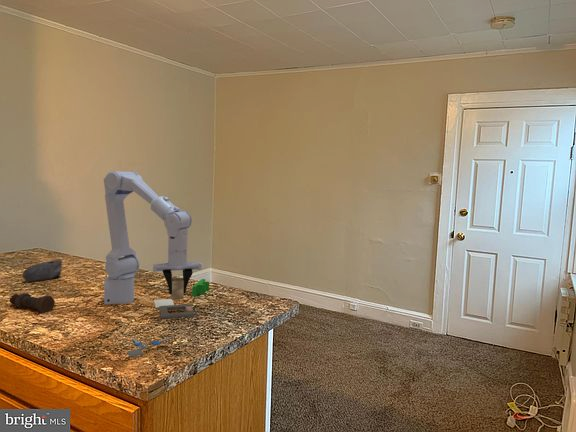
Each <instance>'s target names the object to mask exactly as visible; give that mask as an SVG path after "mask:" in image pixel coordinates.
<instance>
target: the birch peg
mask: <svg viewBox="0 0 576 432" xmlns="http://www.w3.org/2000/svg"><path fill="white" fill-rule="evenodd" d="M184 294H185V293H184V280H183V277H172V294H170V299H172V300H173V301H176V300H179V301H180V300H184Z"/></svg>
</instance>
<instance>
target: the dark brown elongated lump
mask: <svg viewBox="0 0 576 432" xmlns="http://www.w3.org/2000/svg"><path fill="white" fill-rule="evenodd" d="M9 302H10V304H12V305H15V306H16V307H17V308H18V309H25V308H32V309H36V310H37V312H39V313H40V314H46V313H49V312H52V310H53V309H54V307H55V299H54V298H53V297H52V295H50V294H47V295H43V296H39V297H36V296H35V297H34V296H32V295H30V294H29V293H28V292H24V293H20V294H13V295H11V296H10V298H9Z"/></svg>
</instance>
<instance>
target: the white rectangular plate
mask: <svg viewBox="0 0 576 432" xmlns="http://www.w3.org/2000/svg"><path fill="white" fill-rule="evenodd" d="M153 302H154V306H155V309H156V308H159V306H167V305H175V303H174V300H172V299H171V298H168V299H154V300H153Z"/></svg>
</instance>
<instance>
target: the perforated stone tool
mask: <svg viewBox="0 0 576 432" xmlns="http://www.w3.org/2000/svg"><path fill="white" fill-rule="evenodd" d="M62 265H63V263H62V261H61V259H59V260H51V261H45V262H40V263H37V264H33V265H31V266H29V267H27V268H26V269H25V270H24V271H23V272H22V279H24V280H25V281H28V282H37V281H40V282H41V281H47V280H52V279H54V278H59V277H60V276H61V274H62V273H61V272H62Z"/></svg>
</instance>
